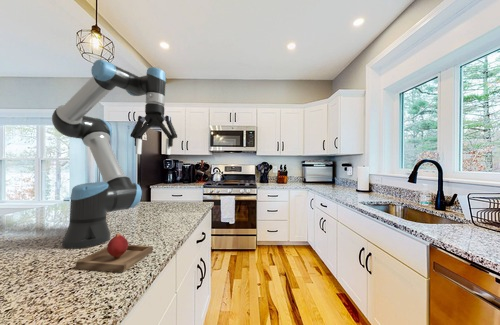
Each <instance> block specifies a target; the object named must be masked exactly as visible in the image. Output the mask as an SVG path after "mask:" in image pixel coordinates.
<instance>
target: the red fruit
mask: <svg viewBox="0 0 500 325" xmlns="http://www.w3.org/2000/svg"><path fill="white" fill-rule="evenodd" d="M128 245H129V241H128V239H127V238H126V237H124V236H123V235H121V233H119V232H118V233H115V236H113V237H112V238H110V240H109V242H108V244H107V246H106V247H107V252H108V253H109V254H110V255H111V256H113V257H115V258H119V257H120V256H121V255H123V254H124V253H125V252H126V250H127V248H128Z"/></svg>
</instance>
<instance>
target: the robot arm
mask: <svg viewBox="0 0 500 325" xmlns="http://www.w3.org/2000/svg"><path fill="white" fill-rule="evenodd" d="M90 70H91V72H90V73H91V75H92V77H91V78H90V79H89V80H87V81H86V83H85V84H84V85H83V86H82V87H81V88H79V90H77V92H75V94H73V96H72V97H71V98H70V99H69V100H68V101H66V103H65V104H63V105H62V104H61V105H59V106H58V107H57V108H55V109H54V110H53V113H52V116H51V121H52V125H53V127H54V129H55V130H57V132H58V133H60V134H61V135H64V136H65V137H68V138H73V139H74V138H75V139H80V140H82V143H83V144H84V146H86V147H89V149H90V152H91V154H92V157H93V159H94V161H95V163H96V166H97V168H98V171H99V173H100V176H101V177H102V180H103V181H96V182H94V181H93V182H86V183H81V184H76V185H74V186H73V187H72V188H71V194H70V198H69V199H70V208H69V224H68V226H67V229H66V232H65V235H64V236H63V237H62V240H61V241H62V243H61V246H62V247H63V248H66V249H83V248H89V247H94V246H99V245H101V244H105V243H107V242H108V241H110V240H111V231H110V229H109V225H108V223H107V222H108V221H107V213H111V212H116V211H123V210H129V209H132V208H135V207H137V205H139V203H140V201H141V199H142V195H143V190H142V188H141V186H140V184H138V183H135V182H134V183H133V182H132V180H131V177H130V176H128V175H125V173H124V172H123V169H122V167H121V165H120V163H119V161H118V158H117V157H116V154H115V153H114V150H113V148H112V146H111V144H110V141H111V139H112V136H113V132H112V131H113V129H112V126H111V124H110V123H109V122H108V121H107V120H105V119H101V118H98V117H97V118H96V117H90V116H87V115H86V114H88V113H89V112H90V111H91V110H92V109H93V108H94V107H95V106H96V105H97V104H99V103H100V102H101V100H103V99H104V98H105V97H106V96H107V95H108V94H109V93H110V92H111V91H112V90H114V89H115V88H116V87H117V88H118V89H123V90H125V91H126V92H127V94H129V95H130V96H133V97H140V96H145V107H144V111H145V115H144V116H142V115H138V116H137V121H136V124H135V125H134V127H133V129H132V131H131V133H130V136H129V137H130V138H133V139H134V146H135V155H142V147H143V139H141V138H142V137H143V136H144V135H145V134H146V132H147V131H148V130H149V129H150V128H155V127H156V128H160V129H161V131H162V132H163V133H164V135H165V136H166V137H167V138H165V155H168V156H169V155H171V150H172V147H173V146H174V145H173V144H174V142H173V141H174V139H177V138H178V134H177V131H176V130H175V128H174V125H173V123H172V117H171V116H168V115H165V105H166V104H165V100H166V82H167V81H166V72H165V71H164V70H163V69H161V68H158V67H156V66H155V67H152V66H151V67H148V68H147V69H146V74H145V75H142V76H138V75H136V74H134V73H132V72H130V71H128V70H126V69H123V68H121V67H119V66H117V65H115V64H114V63H112V62H109V61H107V60H104V59H97V60H95V61H94V62H93V65H92V66H91V69H90ZM164 121H165V123H164ZM165 124H166V125H167V127H166V125H165Z"/></svg>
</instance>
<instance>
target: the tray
mask: <svg viewBox="0 0 500 325" xmlns="http://www.w3.org/2000/svg"><path fill="white" fill-rule="evenodd" d="M153 247H154V246H153V245H152V246H151V245H140V244H128V248H127V250H126V252H125V253H124V254H123V255H121V256H120V257H119V258H115V257H113V256H111V255H110V254H109V253H108V252H107V246H106V247H104V248H102V249H100V250H98V251H96V252H93V253H91V254H89V255H87V256H85V257H83V258H81V259H78V260H77V261H75V269H76V270H77V269H79V270H88V271H89V270H91V271H104V272H115V273H117V272H118V273H124V272H126V271H128V269H130V268H132V267H133V266H134V265H136V264H137V263H139V262H140V261H141V260H143V259H145V258H146V257H147V256H149V255H151V253H153V249H154V248H153Z"/></svg>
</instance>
